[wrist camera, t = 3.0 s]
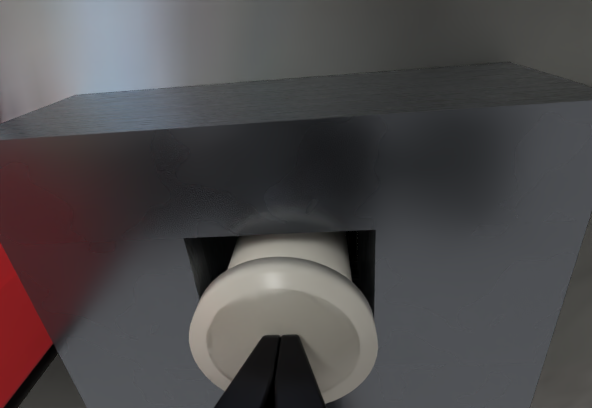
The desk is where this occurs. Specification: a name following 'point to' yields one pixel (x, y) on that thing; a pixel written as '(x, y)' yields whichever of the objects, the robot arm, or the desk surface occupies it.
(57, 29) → the desk surface
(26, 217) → the panel
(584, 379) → the desk surface
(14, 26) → the desk surface
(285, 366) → the robot arm
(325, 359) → the knob
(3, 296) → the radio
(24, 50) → the desk surface
